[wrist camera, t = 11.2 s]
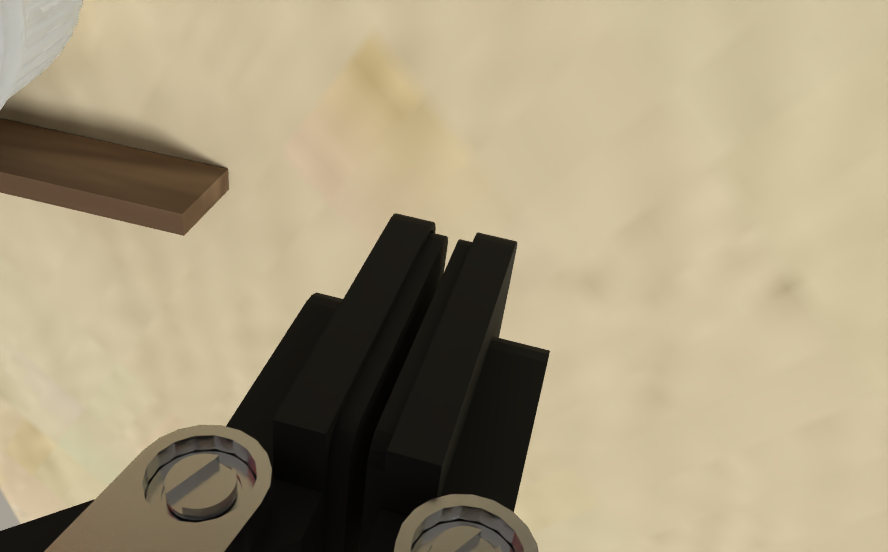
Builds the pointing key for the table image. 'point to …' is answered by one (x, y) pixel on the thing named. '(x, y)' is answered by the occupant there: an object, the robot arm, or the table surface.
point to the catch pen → (107, 178)
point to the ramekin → (32, 39)
